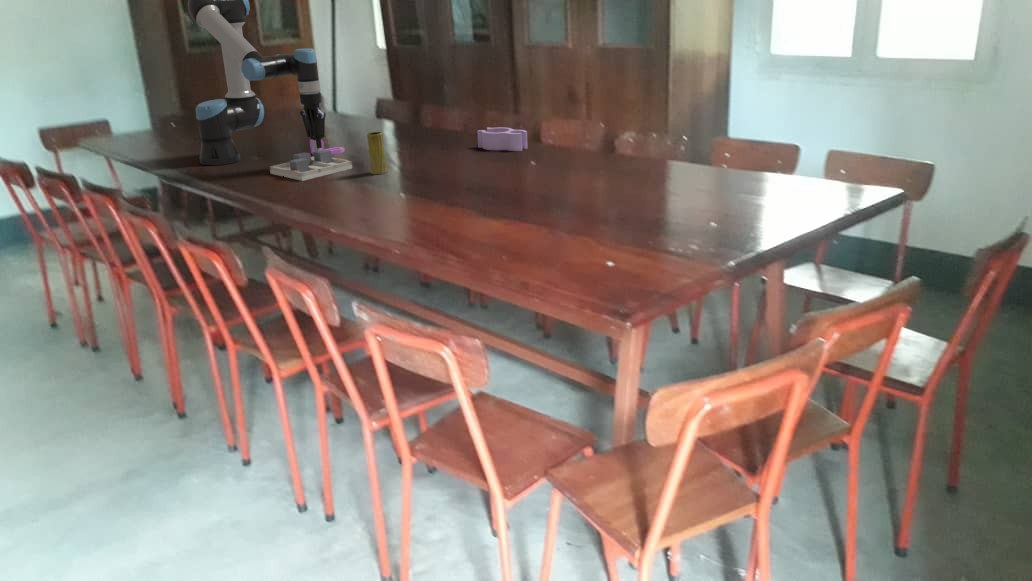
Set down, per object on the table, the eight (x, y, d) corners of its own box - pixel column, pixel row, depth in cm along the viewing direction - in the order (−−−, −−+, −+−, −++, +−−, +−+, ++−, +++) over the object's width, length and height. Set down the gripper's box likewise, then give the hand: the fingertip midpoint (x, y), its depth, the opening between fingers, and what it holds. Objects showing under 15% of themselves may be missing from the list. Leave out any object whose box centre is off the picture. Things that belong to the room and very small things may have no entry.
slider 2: (291, 171, 287) (289, 160, 286) (302, 169, 291) (301, 158, 289) (297, 173, 285) (295, 162, 283) (309, 170, 288) (307, 159, 287)
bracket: (316, 156, 319) (314, 139, 317) (311, 154, 323) (308, 137, 321) (346, 151, 326) (344, 134, 323) (341, 149, 330) (339, 133, 328)
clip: (532, 146, 321) (532, 129, 318) (516, 153, 311) (515, 135, 309) (491, 143, 331) (491, 126, 328) (474, 149, 321) (473, 131, 319)
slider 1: (294, 165, 297) (292, 154, 296) (305, 162, 301) (304, 152, 299) (300, 166, 295) (299, 155, 293) (311, 163, 298) (310, 153, 297)
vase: (371, 175, 285) (366, 135, 280) (369, 171, 291) (365, 132, 285) (388, 173, 287) (384, 133, 281) (386, 170, 292) (382, 130, 287)
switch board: (270, 173, 294) (269, 165, 293) (320, 162, 309) (319, 154, 308) (302, 180, 281) (301, 172, 280) (352, 168, 297) (351, 160, 295)
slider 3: (314, 162, 300) (313, 152, 299) (325, 160, 304) (324, 149, 302) (321, 163, 298) (319, 153, 296) (332, 161, 301) (330, 150, 300)
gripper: (291, 93, 294) (300, 156, 303) (311, 95, 286) (320, 160, 295) (308, 90, 300) (316, 152, 308) (329, 92, 291) (337, 156, 300)
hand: (318, 156), depth 302 cm, fingers closed
